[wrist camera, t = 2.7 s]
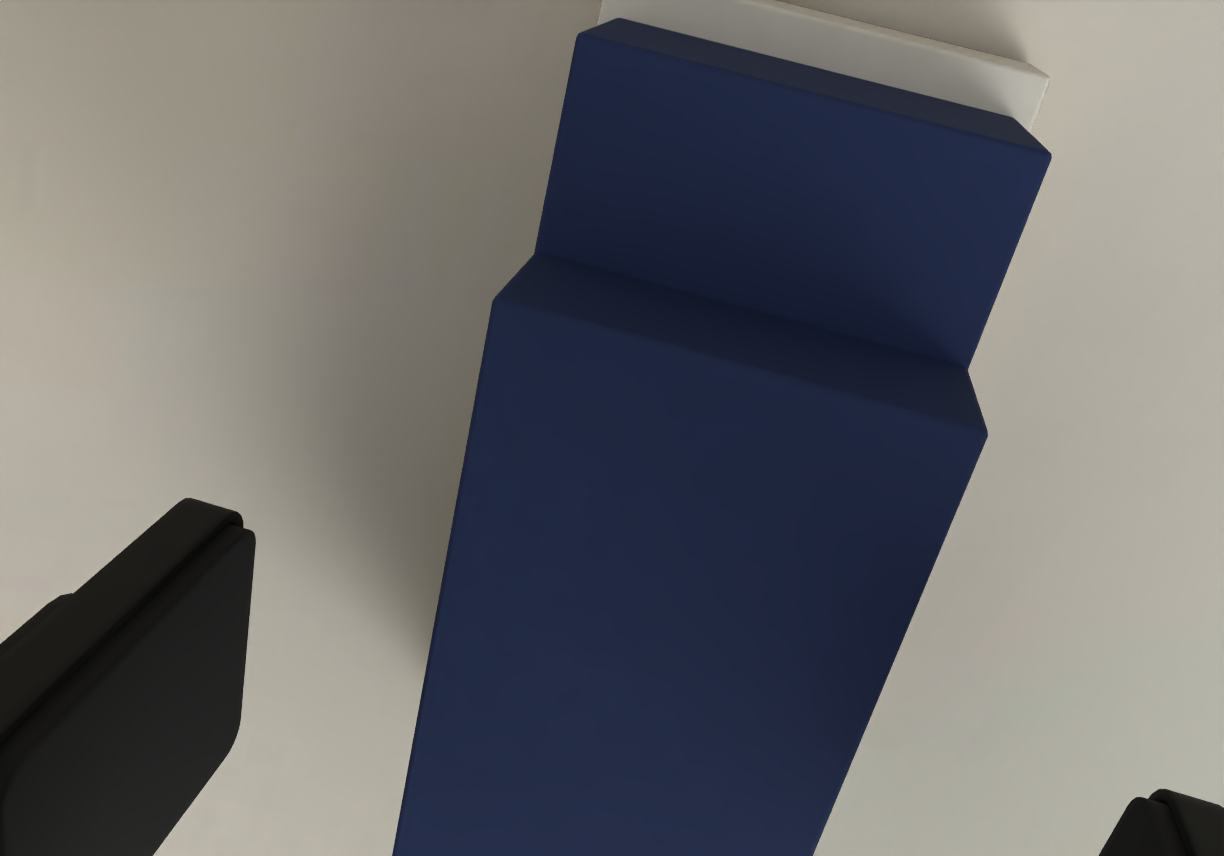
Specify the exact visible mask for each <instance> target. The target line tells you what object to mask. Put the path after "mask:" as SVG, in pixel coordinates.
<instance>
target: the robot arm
mask: <svg viewBox="0 0 1224 856" xmlns="http://www.w3.org/2000/svg"><path fill="white" fill-rule="evenodd" d="M255 545H256V538H255V534H254V532H253V531H251V530H248V529H245V528H243V520H242V516H241V515H240V514H239V513H238V512H236V511H233V510H229V509H226V508H223V507H219V506H216V505H212V504H209V503H206V502H202V501H199V500H196V499H192V498H185V499H183V500H182V501H180V502H179V503H177V504H176V505H175V506H174V507H173V508H172V509H170V510H169V511H168V512H167V513H166V514H165V515H164V516H162V517H161V518H160V519H159V520H158V521H157V522H155V523H154V524H153V525H152V526H151V527H150V528H148V529H147V530H146V531H145V532H144V533H143V534H142V535H140V536H139V537H138V538H137V539H136V540H135V541H133V542H132V543H131V544H130V545H129V546H128V547H127V548H125V549H124V550H123V551H122V552H121V553H120V554H118V555H117V556H116V557H115V558H114V559H113V560H112V561H110V562H109V563H108V564H107V565H106V566H105V567H103V568H102V569H101V570H100V571H99V572H98V573H97V574H95V575H94V576H93V577H92V578H91V579H90V580H88V581H87V582H86V583H85V584H84V585H83V586H82V587H80V588H79V589H78V590H77V591H76V592H75V593H73V594H72V593H70V594H65V595H61V596H59V597H57V598H56V599H54V600H53V601H51V602H50V603H48V604H47V605H46V606H45V607H43V608H42V609H41V610H40V611H39V612H38V613H36V614H35V615H34V616H33V617H32V618H31V619H29V620H28V621H27V622H26V623H25V624H23V625H22V626H21V627H20V628H19V629H18V630H16V631H15V632H14V633H13V634H12V635H11V636H9V637H8V638H7V639H6V640H5V641H3V642H2V643H1V644H0V856H153V855H154V853H155V852H156V851H157V849H158V848H159V846H160V845H161V844H162V842H163V841H164V840H165V838H166V837H167V836H168V834H169V833H170V832H171V830H172V829H173V828H174V826H175V825H176V824H177V822H178V821H179V820H180V818H181V817H182V816H183V814H184V813H185V811H186V810H187V809H188V807H189V806H190V805H191V803H192V802H193V801H194V799H195V798H196V797H197V795H198V794H199V793H200V791H201V790H202V789H203V787H204V786H205V785H206V783H207V782H208V780H209V779H210V778H211V776H212V775H213V774H214V772H215V771H216V770H217V768H218V767H219V766H220V764H221V763H222V762H223V760H224V759H225V758H226V756H227V754H228V753H229V751H230V750H231V748H232V746H233V744H234V741H235V739H236V736H237V733H238V730H239V726H240V720H241V710H242V698H243V686H244V674H245V663H246V651H247V639H248V627H249V615H250V604H251V592H252V580H253V568H254V557H255ZM1099 856H1224V808H1223V807H1221V806H1220V805H1217V804H1214V803H1211V802H1207V801H1204V800H1201V799H1197V798H1194V797H1191V796H1187V795H1184V794H1180V793H1177V792H1174V791H1170V790H1167V789H1158V790H1157V791H1155V792H1154V793H1152V794H1151V796H1150V797H1149V798H1148V799H1146V798H1143V797H1136V798H1135V799H1133V800H1132V801H1131V802H1130V804H1129V805H1128V806H1127V808H1126V810H1125V811H1124V813H1123V815H1122V816H1121V818H1120V820H1119V822H1118V823H1117V825H1116V827H1115V828H1114V830H1113V832H1112V834H1111V835H1110V837H1109V839H1108V840H1107V842H1106V844H1105V846H1104V847H1103V849H1102V851H1101V852H1100V854H1099Z"/></svg>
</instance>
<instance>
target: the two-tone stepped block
mask: <svg viewBox="0 0 1224 856" xmlns="http://www.w3.org/2000/svg"><path fill="white" fill-rule="evenodd" d="M1049 82H1050V77H1049V76H1048V75H1047V74H1045V73H1044V72H1042V71H1040V70H1039V69H1037V68H1036V67H1034V66H1032V65H1031V64H1028V63H1024V62H1020V61H1016V60H1012V59H1008V58H1004V57H1000V56H996V55H992V54H988V53H984V52H980V51H976V50H972V49H968V48H964V47H960V46H956V45H952V44H948V43H944V42H940V41H936V40H932V39H928V38H924V37H920V36H916V35H912V34H908V33H904V32H900V31H896V30H892V29H888V28H884V27H880V26H876V25H872V24H868V23H864V22H860V21H856V20H852V19H848V18H844V17H841V16H837V15H833V14H829V13H825V12H821V11H817V10H813V9H809V8H805V7H801V6H797V5H793V4H789V3H785V2H781V1H777V0H602V3H601V8H600V13H599V18H598V23H597V26H596V27H593V28H591V29H588V30H586V31H583V32H581V33H579V34H578V35H577V37H576V41H575V47H574V52H573V57H572V62H571V67H570V72H569V77H568V83H567V88H566V93H565V98H564V103H563V108H562V113H561V119H560V124H559V129H558V134H557V139H556V144H555V149H554V154H553V160H552V165H551V170H550V175H549V180H548V185H547V190H546V196H545V201H544V206H543V211H542V216H541V221H540V226H539V232H538V237H537V242H536V247H535V252H534V255H533V256H532V257H531V258H530V259H529V260H528V261H527V263H526V264H525V265H524V266H523V267H522V268H521V269H520V270H519V271H518V272H517V274H516V275H515V276H514V277H513V278H512V279H511V280H510V281H509V282H508V283H507V285H506V286H505V287H504V288H503V289H502V290H501V291H500V292H499V293H498V294H497V296H496V297H495V298H494V300H493V301H492V307H491V312H490V318H489V323H488V329H487V334H486V340H485V346H484V351H483V357H482V362H481V368H480V373H479V379H478V384H477V390H476V395H475V401H474V406H473V412H472V417H471V423H470V428H469V434H468V440H467V445H466V451H465V456H464V462H463V467H462V473H461V478H460V484H459V489H458V495H457V500H456V506H455V511H454V517H453V523H452V528H451V534H450V539H449V545H448V550H447V556H446V561H445V567H444V572H443V578H442V583H441V589H440V594H439V600H438V606H437V611H436V617H435V622H434V628H433V633H432V639H431V644H430V650H429V655H428V661H427V666H426V672H425V677H424V683H423V689H422V694H421V700H420V705H419V711H418V716H417V722H416V727H415V733H414V738H413V744H412V749H411V755H410V760H409V766H408V772H407V777H406V783H405V788H404V794H403V799H402V805H401V810H400V816H399V821H398V827H397V832H396V838H395V843H394V849H393V855H392V856H813V854H814V851H815V849H816V847H817V844H818V842H819V839H820V837H821V835H822V832H823V830H824V827H825V825H826V823H827V820H828V818H829V815H830V813H831V811H832V808H833V806H834V803H835V801H836V799H837V796H838V794H839V791H840V789H841V787H842V784H843V782H844V780H845V777H846V775H847V772H848V770H849V768H850V765H851V763H852V760H853V758H854V756H855V753H856V751H857V748H858V746H859V744H860V741H861V739H862V736H863V734H864V732H865V729H866V727H867V724H868V722H869V720H870V717H871V715H872V712H873V710H874V708H875V705H876V703H877V700H878V698H879V696H880V693H881V691H882V688H883V686H884V684H885V681H886V679H887V676H888V674H889V672H890V669H891V667H892V664H893V662H894V660H895V657H896V655H897V652H898V650H899V648H900V645H901V643H902V640H903V638H904V636H905V633H906V631H907V629H908V626H909V624H910V621H911V619H912V617H913V614H914V612H915V609H916V607H917V605H918V602H919V600H920V597H921V595H922V593H923V590H924V588H925V585H926V583H927V581H928V578H929V576H930V573H931V571H932V569H933V566H934V564H935V561H936V559H937V557H938V554H939V552H940V549H941V547H942V545H943V542H944V540H945V537H946V535H947V533H948V530H949V528H950V525H951V523H952V521H953V518H954V516H955V513H956V511H957V509H958V506H959V504H960V501H961V499H962V497H963V494H964V492H965V489H966V487H967V485H968V482H969V480H970V478H971V475H972V473H973V470H974V468H975V466H976V463H977V461H978V458H979V456H980V454H981V451H982V449H983V446H984V444H985V442H986V439H987V437H988V431H987V428H986V425H985V422H984V419H983V416H982V413H981V410H980V407H979V404H978V401H977V398H976V394H975V391H974V388H973V385H972V382H971V379H970V376H969V373H968V368H969V365H970V363H971V360H972V358H973V355H974V353H975V350H976V348H977V345H978V343H979V340H980V338H981V335H982V332H983V330H984V327H985V325H986V322H987V320H988V317H989V315H990V312H991V310H992V307H993V305H994V302H995V300H996V297H997V295H998V292H999V290H1000V287H1001V285H1002V282H1003V279H1004V277H1005V274H1006V272H1007V269H1008V267H1009V264H1010V262H1011V259H1012V257H1013V254H1014V252H1015V249H1016V247H1017V244H1018V242H1019V239H1020V237H1021V234H1022V231H1023V229H1024V226H1025V224H1026V221H1027V219H1028V216H1029V214H1030V211H1031V209H1032V206H1033V204H1034V201H1035V199H1036V196H1037V194H1038V191H1039V189H1040V186H1041V184H1042V181H1043V178H1044V176H1045V173H1046V171H1047V168H1048V166H1049V163H1050V161H1051V153H1050V152H1049V151H1048V150H1047V149H1046V148H1045V147H1044V146H1043V145H1042V144H1041V143H1040V142H1039V141H1038V140H1037V139H1035V138H1034V137H1033V136H1032V135H1031V134H1030V131H1031V129H1032V126H1033V123H1034V121H1035V118H1036V116H1037V113H1038V110H1039V108H1040V105H1041V103H1042V100H1043V97H1044V95H1045V92H1046V89H1047V87H1048V84H1049Z"/></svg>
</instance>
